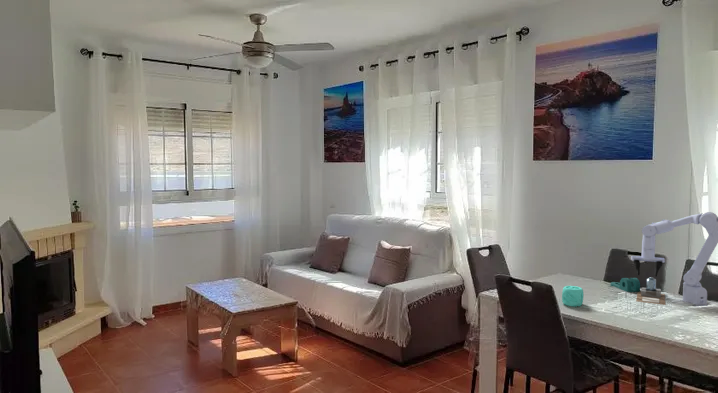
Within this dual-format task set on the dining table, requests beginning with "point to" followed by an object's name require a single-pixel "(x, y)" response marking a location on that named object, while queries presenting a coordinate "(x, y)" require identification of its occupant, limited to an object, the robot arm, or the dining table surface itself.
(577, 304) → the decorative dice
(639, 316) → the dining table surface
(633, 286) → the bracket
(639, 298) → the housing plate
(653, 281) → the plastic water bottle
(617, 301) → the dining table surface
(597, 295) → the dining table surface
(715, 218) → the robot arm
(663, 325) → the dining table surface
